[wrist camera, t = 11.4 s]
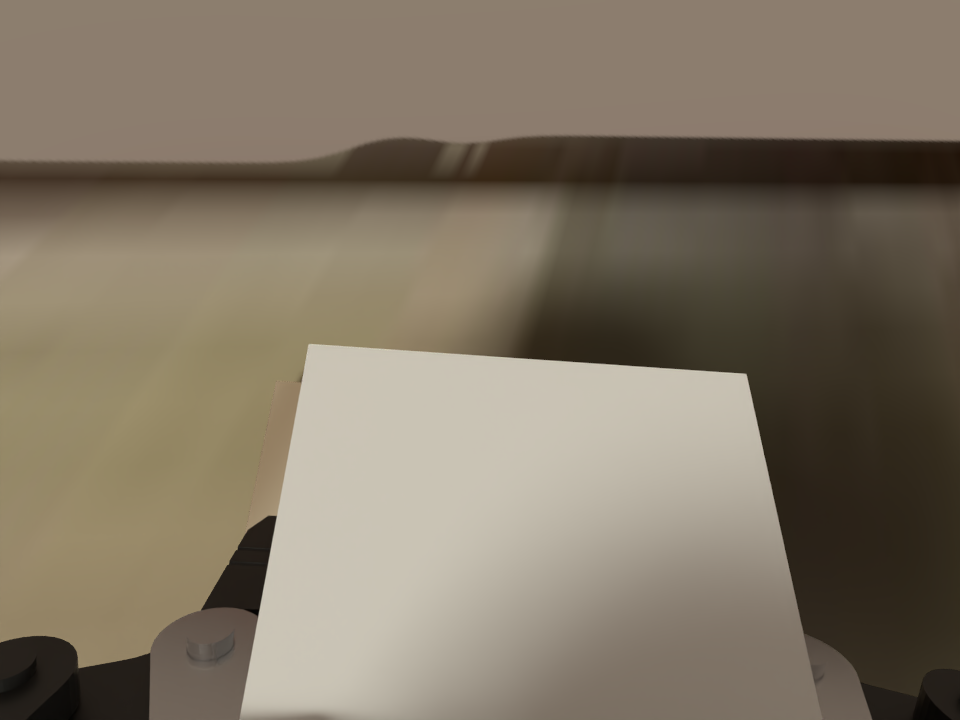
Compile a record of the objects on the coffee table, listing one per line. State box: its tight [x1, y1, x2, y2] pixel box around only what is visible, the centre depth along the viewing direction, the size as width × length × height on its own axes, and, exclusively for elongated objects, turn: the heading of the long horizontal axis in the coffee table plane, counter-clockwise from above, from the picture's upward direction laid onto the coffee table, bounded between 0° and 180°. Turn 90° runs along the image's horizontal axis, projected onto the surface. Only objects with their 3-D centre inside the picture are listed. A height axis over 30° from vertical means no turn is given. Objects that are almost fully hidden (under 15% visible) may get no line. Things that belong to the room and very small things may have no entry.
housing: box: [239, 344, 822, 720], centre depth 11 cm, size 5×5×10 cm
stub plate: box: [245, 381, 302, 534], centre depth 15 cm, size 12×16×6 cm
